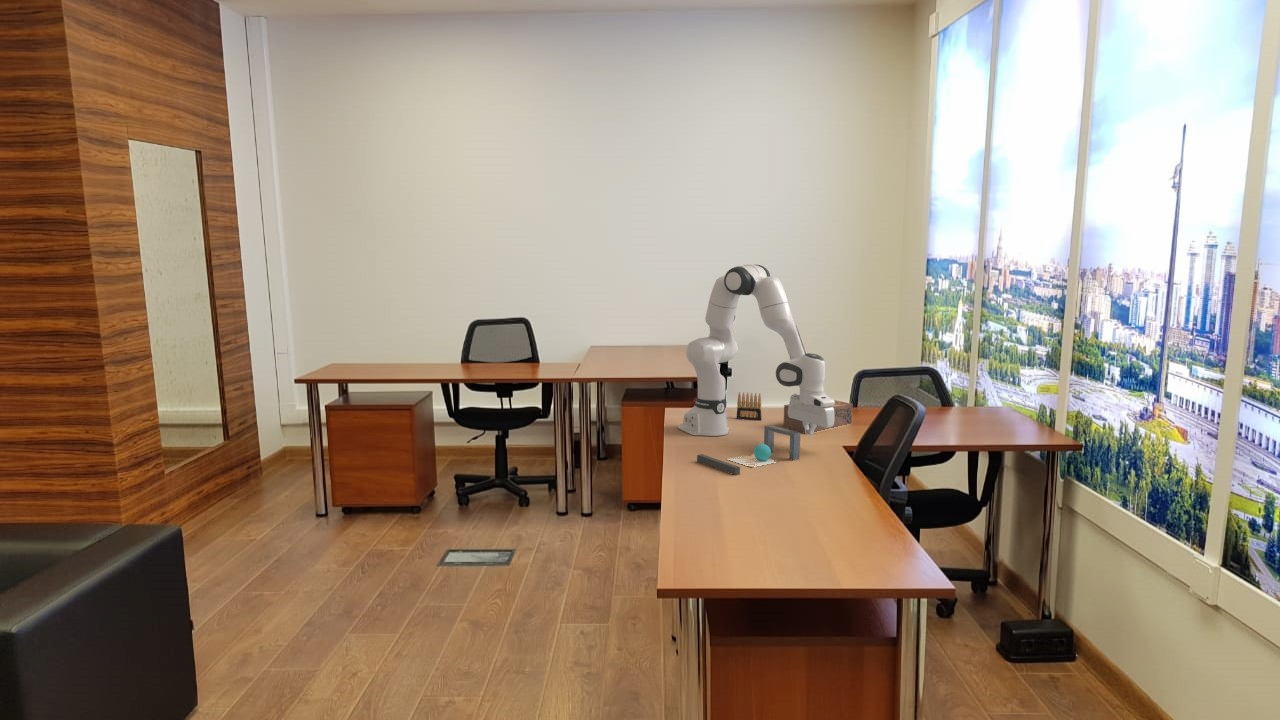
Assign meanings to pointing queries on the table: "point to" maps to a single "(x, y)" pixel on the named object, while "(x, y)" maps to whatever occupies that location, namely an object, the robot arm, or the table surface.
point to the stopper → (718, 464)
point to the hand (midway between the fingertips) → (809, 434)
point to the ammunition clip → (747, 411)
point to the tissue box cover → (841, 418)
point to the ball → (762, 452)
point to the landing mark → (759, 463)
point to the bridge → (793, 435)
